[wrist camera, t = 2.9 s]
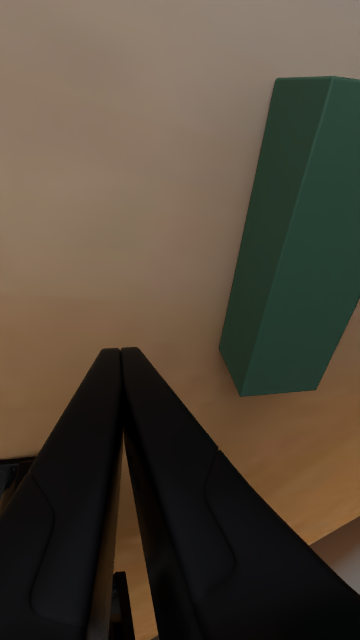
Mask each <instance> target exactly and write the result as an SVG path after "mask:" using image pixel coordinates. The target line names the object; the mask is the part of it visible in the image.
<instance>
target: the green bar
mask: <svg viewBox="0 0 360 640" xmlns="http://www.w3.org/2000/svg"><path fill="white" fill-rule="evenodd" d="M359 299H360V80H358V79H351V78H344V77H336V76H325V77H293V78H277V79H276V81H275V85H274V90H273V95H272V99H271V104H270V109H269V114H268V118H267V123H266V128H265V133H264V137H263V142H262V147H261V152H260V156H259V161H258V166H257V171H256V175H255V180H254V185H253V190H252V194H251V199H250V204H249V209H248V213H247V218H246V223H245V228H244V232H243V237H242V242H241V247H240V251H239V256H238V261H237V266H236V270H235V275H234V280H233V285H232V289H231V294H230V299H229V304H228V308H227V313H226V318H225V323H224V327H223V332H222V337H221V341H220V346H219V350H220V352H221V354H222V357H223V359H224V361H225V364H226V366H227V368H228V370H229V373H230V375H231V377H232V379H233V382H234V384H235V386H236V389H237V391H238V393H239V395H240V396H241V397H243V396H254V395H266V394H277V393H289V392H300V391H311V390H316V389H317V387H318V385H319V383H320V380H321V378H322V376H323V374H324V372H325V370H326V368H327V366H328V364H329V362H330V360H331V357H332V355H333V353H334V351H335V349H336V347H337V345H338V343H339V341H340V339H341V337H342V334H343V332H344V330H345V328H346V326H347V324H348V322H349V320H350V318H351V316H352V314H353V311H354V309H355V307H356V305H357V303H358V301H359Z"/></svg>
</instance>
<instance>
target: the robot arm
mask: <svg viewBox="0 0 360 640" xmlns="http://www.w3.org/2000/svg"><path fill="white" fill-rule="evenodd" d="M123 434H124V444H125V450H126V456H127V462H128V467H129V473H130V478H131V484H132V489H133V495H134V501H135V506H136V512H137V517H138V523H139V528H140V534H141V540H142V545H143V551H144V556H145V562H146V568H147V573H148V579H149V584H150V590H151V595H152V601H153V607H154V612H155V618H156V623H157V629H158V634H159V639H160V640H360V595H359V594H358V593H357V592H356V591H355V590H353V589H352V588H351V587H350V586H349V585H348V584H346V583H345V581H343V580H342V579H341V578H340V577H339V576H338V575H337V574H336V573H335V572H334V571H333V570H332V569H331V568H330V567H329V566H328V565H327V564H326V563H325V562H324V561H323V560H322V559H321V558H320V557H319V556H318V555H317V554H316V553H315V552H314V551H313V550H312V549H311V548H310V547H309V546H308V545H307V543H306V542H305V541H304V540H303V539H302V538H301V537H300V536H299V535H298V534H297V533H296V532H295V531H294V530H293V529H292V528H291V527H290V526H289V525H288V524H287V523H286V522H285V521H284V520H283V519H282V518H281V517H280V516H279V515H278V514H277V513H276V512H275V511H274V510H273V509H272V508H271V507H270V506H269V505H268V504H267V503H266V502H265V501H264V500H263V499H262V498H261V497H260V495H259V494H258V493H257V492H256V491H255V490H254V489H253V488H252V487H251V486H250V485H249V484H248V482H247V481H246V480H245V479H244V478H243V476H242V475H241V474H240V473H239V472H238V471H237V469H236V468H235V467H234V466H233V465H232V463H231V462H230V461H229V460H228V458H227V457H226V456H225V455H224V453H223V452H222V451H221V450H218V446H217V445H216V444H215V442H214V441H213V440H212V439H211V437H210V436H209V435H208V434H207V433H206V431H205V430H204V429H203V428H202V426H201V425H200V424H199V423H198V421H197V420H196V419H195V418H194V416H193V415H192V414H191V413H190V411H189V410H188V409H187V408H186V406H185V405H184V404H183V403H182V401H181V400H180V399H179V398H178V396H177V395H176V394H175V393H174V391H173V390H172V389H171V388H170V386H169V385H168V384H167V383H166V381H165V380H164V379H163V378H162V376H161V375H160V374H159V373H158V372H157V370H156V369H155V368H154V367H153V365H152V364H151V363H150V362H149V360H148V359H147V358H146V357H145V355H144V354H143V353H142V352H141V350H140V349H139V348H137V347H126V348H121V350H120V349H118V348H106V349H102V350H101V351H100V353H99V355H98V356H97V358H96V360H95V361H94V363H93V364H92V366H91V368H90V369H89V371H88V373H87V374H86V376H85V378H84V379H83V381H82V383H81V384H80V386H79V388H78V389H77V391H76V393H75V394H74V396H73V398H72V399H71V401H70V402H69V404H68V406H67V407H66V409H65V411H64V412H63V414H62V416H61V417H60V419H59V421H58V422H57V424H56V426H55V427H54V429H53V431H52V432H51V434H50V436H49V437H48V439H47V440H46V442H45V444H44V445H43V447H42V449H41V450H40V452H39V454H38V455H37V456H36V457H27V458H18V459H9V460H0V640H135V635H134V628H133V621H132V614H131V607H130V600H129V593H128V586H127V579H126V573H125V571H122V572H115V573H114V574H113V570H114V557H115V544H116V531H117V518H118V505H119V492H120V479H121V466H122V454H123Z"/></svg>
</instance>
